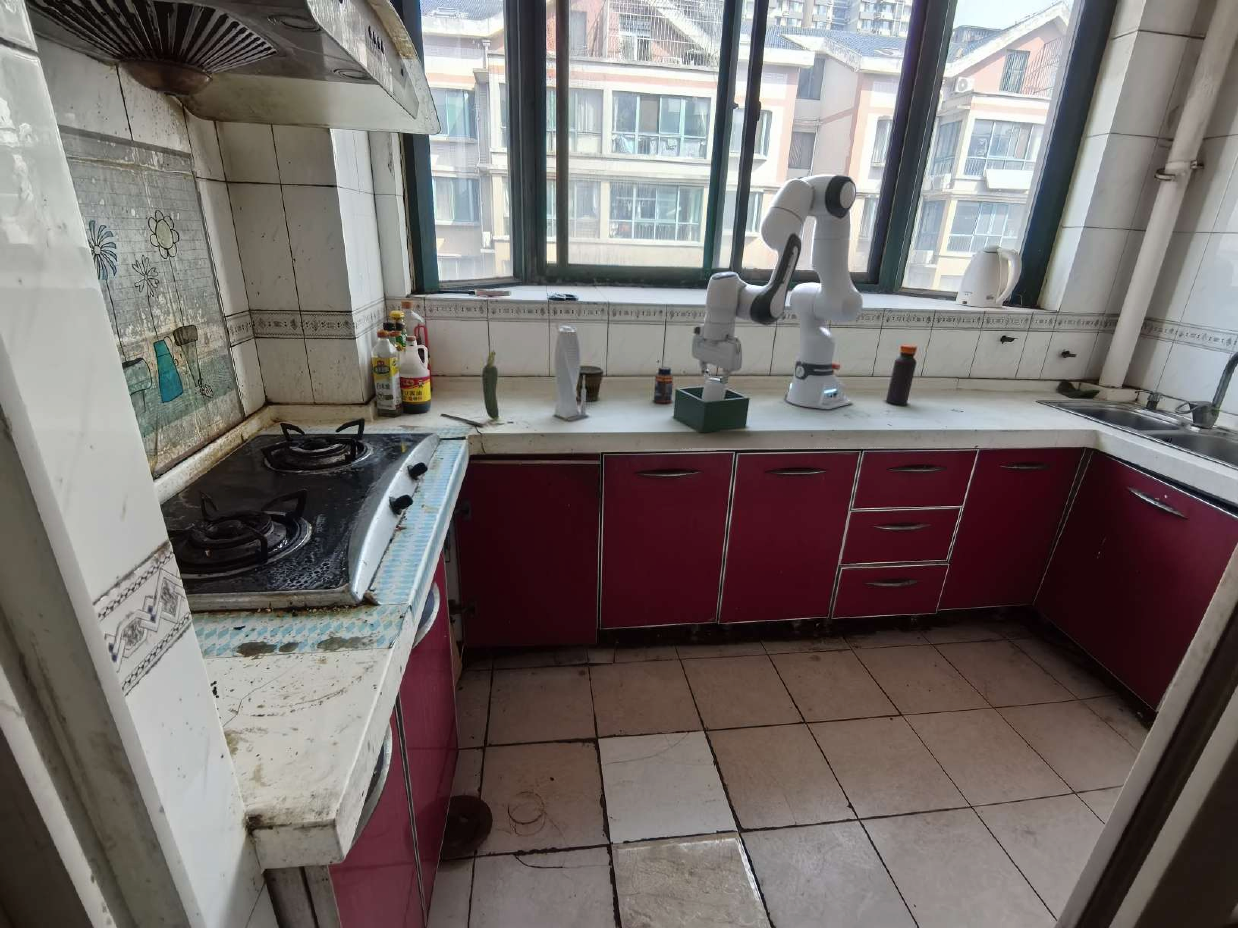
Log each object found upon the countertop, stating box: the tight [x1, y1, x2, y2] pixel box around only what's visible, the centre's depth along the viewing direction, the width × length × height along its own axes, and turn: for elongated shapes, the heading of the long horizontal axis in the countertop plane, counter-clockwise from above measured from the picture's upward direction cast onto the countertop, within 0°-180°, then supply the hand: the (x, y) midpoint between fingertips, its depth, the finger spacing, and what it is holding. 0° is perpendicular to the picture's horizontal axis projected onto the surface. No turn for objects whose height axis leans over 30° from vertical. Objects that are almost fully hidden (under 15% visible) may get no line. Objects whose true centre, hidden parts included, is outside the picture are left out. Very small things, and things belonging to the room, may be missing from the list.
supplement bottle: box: [653, 366, 674, 404], centre depth 195 cm, size 6×6×11 cm
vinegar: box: [885, 344, 918, 406], centre depth 204 cm, size 7×7×20 cm
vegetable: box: [481, 350, 500, 421], centre depth 167 cm, size 4×4×20 cm
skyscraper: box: [553, 321, 588, 422], centre depth 172 cm, size 8×8×28 cm
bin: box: [673, 385, 751, 434], centre depth 176 cm, size 16×16×9 cm
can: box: [702, 375, 728, 401], centre depth 176 cm, size 6×6×12 cm
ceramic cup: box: [575, 365, 604, 402], centre depth 193 cm, size 13×10×10 cm
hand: (713, 379), depth 173 cm, fingers open, 8 cm apart
